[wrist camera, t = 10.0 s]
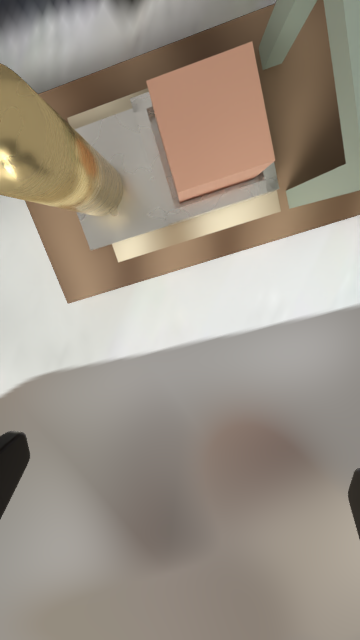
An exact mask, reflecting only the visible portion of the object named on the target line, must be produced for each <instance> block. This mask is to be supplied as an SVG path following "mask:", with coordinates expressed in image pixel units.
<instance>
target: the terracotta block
mask: <svg viewBox="0 0 360 640" xmlns="http://www.w3.org/2000/svg"><path fill="white" fill-rule="evenodd" d="M146 82H147V86H148V90H149V94H150V98H151V102H152V106H153V110H154V114H155V118H156V122H157V125H158V129H159V132H160V136H161V139H162V143H163V146H164V150H165V153H166V157H167V160H168V164H169V167H170V171H171V174H172V178H173V181H174V185H175V189H176V192H177V196H178V199H179V203H182V202H185V201H188V200H191V199H194V198H197V197H200V196H203V195H206V194H210V193H213V192H216V191H219V190H222V189H225V188H228V187H231V186H234V185H237V184H240V183H243V182H246V181H249V180H252V179H254V178H255V177H256V176H257V175H259V174H260V173H261V172H262V171H263V170H265V169H266V168H267V167H268V166H269V165H270V164H272V163H273V162H274V161H275V155H274V150H273V145H272V140H271V135H270V130H269V125H268V120H267V114H266V109H265V104H264V99H263V94H262V89H261V84H260V79H259V73H258V68H257V63H256V58H255V53H254V48H253V43H252V42H249V43H246V44H244V45H241V46H238V47H236V48H233V49H230V50H228V51H225V52H222V53H219V54H217V55H214V56H211V57H209V58H206V59H203V60H201V61H198V62H195V63H193V64H190V65H187V66H185V67H182V68H179V69H177V70H174V71H171V72H169V73H166V74H163V75H161V76H158V77H155V78H153V79H150V80H147V81H146Z"/></svg>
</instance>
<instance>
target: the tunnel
mask: <svg viewBox="0 0 360 640" xmlns="http://www.w3.org/2000/svg"><path fill="white" fill-rule="evenodd" d="M316 1H317V0H277V1H276V4H275V6H274V9H273V11H272V14H271V17H270V19H269V22H268V24H267V27H266V29H265V32H264V35H263V37H262V40H261V42H260V45H259V54H260V59H261V64H262V69H263V70H265V69H268V68H270V67H273V66H276V65H279V64H282V62H283V61H284V59H285V57H286V55H287V53H288V52H289V50H290V48H291V46H292V44H293V43H294V41H295V39H296V37H297V35H298V34H299V32H300V30H301V28H302V27H303V25H304V23H305V21H306V19H307V18H308V16H309V14H310V12H311V10H312V9H313V7H314V5H315V3H316ZM324 7H325V15H326V22H327V29H328V37H329V44H330V51H331V58H332V66H333V73H334V80H335V88H336V95H337V102H338V109H339V117H340V124H341V131H342V139H343V146H344V153H345V160H346V164H344V165H342V166H340V167H337V168H335V169H333V170H331V171H329V172H326V173H324V174H322V175H320V176H318V177H315V178H313V179H311V180H309V181H306V182H304V183H302V184H300V185H298V186H295V187H293V188H291V189H289V190H287V191H286V195H287V200H288V205H289V209H290V208H294V207H298V206H302V205H306V204H309V203H313V202H317V201H321V200H324V199H328V198H332V197H336V196H340V195H343V194H347V193H351V192H355V191H359V190H360V0H324Z"/></svg>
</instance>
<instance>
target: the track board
mask: <svg viewBox="0 0 360 640" xmlns="http://www.w3.org/2000/svg"><path fill="white" fill-rule="evenodd" d="M275 4H276V3H275ZM275 4H273V5H270V6H267V7H265V8H262V9H259V10H257V11H254V12H252V13H249V14H246V15H244V16H241V17H239V18H236V19H233V20H231V21H228V22H226V23H223V24H220V25H218V26H215V27H213V28H210V29H207V30H205V31H202V32H199V33H197V34H194V35H192V36H189V37H186V38H184V39H181V40H179V41H176V42H173V43H171V44H168V45H166V46H163V47H160V48H158V49H155V50H152V51H150V52H147V53H145V54H142V55H139V56H137V57H134V58H132V59H129V60H126V61H124V62H121V63H119V64H116V65H113V66H111V67H108V68H105V69H103V70H100V71H98V72H95V73H92V74H90V75H87V76H85V77H82V78H79V79H77V80H74V81H72V82H69V83H66V84H64V85H61V86H58V87H56V88H53V89H51V90H48V91H45V92H43V93H40V94H38V95H39V96H40V97H41V98H42V99H43V100H44V101H45V102H46V103H48V104H49V105H50V106H51V107H52V108H53V109H54V110H55V111H56V112H57V113H58V114H59V115H60V116H61V117H62V118H63V119H64V120H65V121H66V122H67V123H68V124H69V125H70V126H71V127H72V128H73V129H77V128H80V127H82V126H85V125H88V124H91V123H93V122H96V121H99V120H101V119H104V118H107V117H110V116H112V115H115V114H118V113H121V112H123V111H126V110H129V109H132V108H133V107H132V104H131V101H130V98H133V97H136V96H139V95H141V94H144V93H147V92H149V90H148V86H147V82H146V81H147V80H150V79H153V78H155V77H158V76H161V75H163V74H166V73H169V72H171V71H174V70H177V69H179V68H182V67H185V66H187V65H190V64H193V63H195V62H198V61H201V60H203V59H206V58H209V57H211V56H214V55H217V54H219V53H222V52H225V51H228V50H230V49H233V48H236V47H238V46H241V45H244V44H246V43H249V42H252V43H253V48H254V53H255V58H256V63H257V68H258V73H259V79H260V84H261V89H262V94H263V99H264V104H265V109H266V114H267V120H268V125H269V130H270V135H271V140H272V145H273V150H274V155H275V161H274V164H275V169H276V174H277V179H278V185H279V189H278V190H276V191H274V192H272V193H270V194H267V195H264V196H261V197H258V198H255V199H251V200H248V201H245V202H242V203H239V204H236V205H233V206H230V207H226V208H223V209H220V210H217V211H214V212H211V213H208V214H205V215H202V216H198V217H195V218H192V219H189V220H186V221H183V222H180V223H177V224H173V225H170V226H167V227H164V228H161V229H158V230H155V231H152V232H149V233H145V234H142V235H139V236H136V237H133V238H130V239H127V240H124V241H120V242H117V243H114V244H111V245H108V246H105V247H102V248H99V249H96V250H90V247H89V245H88V242H87V239H86V237H85V234H84V231H83V229H82V226H81V223H80V221H79V218H78V215H77V213H76V212H75V211H71V210H66V209H62V208H57V207H53V206H48V205H44V204H39V203H35V202H30V201H26V200H25V202H26V204H27V207H28V209H29V211H30V214H31V216H32V219H33V221H34V223H35V226H36V228H37V231H38V233H39V235H40V238H41V240H42V243H43V245H44V247H45V250H46V252H47V255H48V257H49V260H50V262H51V264H52V267H53V269H54V272H55V274H56V276H57V279H58V281H59V284H60V286H61V288H62V291H63V293H64V296H65V298H66V300H67V303H68V304H69V303H72V302H75V301H78V300H82V299H85V298H88V297H92V296H95V295H98V294H101V293H105V292H108V291H111V290H114V289H118V288H121V287H124V286H128V285H131V284H134V283H137V282H141V281H144V280H147V279H151V278H154V277H157V276H160V275H164V274H167V273H170V272H174V271H177V270H180V269H183V268H187V267H190V266H193V265H197V264H200V263H203V262H206V261H210V260H213V259H216V258H219V257H223V256H226V255H229V254H233V253H236V252H239V251H242V250H246V249H249V248H252V247H256V246H259V245H262V244H265V243H269V242H272V241H275V240H279V239H282V238H285V237H288V236H292V235H295V234H298V233H302V232H305V231H308V230H311V229H315V228H318V227H321V226H325V225H328V224H331V223H334V222H338V221H341V220H344V219H347V218H351V217H354V216H357V215H360V190H359V191H355V192H351V193H347V194H343V195H340V196H336V197H332V198H328V199H324V200H321V201H317V202H313V203H309V204H306V205H302V206H298V207H294V208H290V209H289V205H288V200H287V195H286V191H287V190H289V189H291V188H293V187H295V186H298V185H300V184H302V183H304V182H306V181H309V180H311V179H313V178H315V177H318V176H320V175H322V174H324V173H326V172H329V171H331V170H333V169H335V168H337V167H340V166H342V165H344V164H346V160H345V153H344V146H343V139H342V131H341V124H340V117H339V109H338V102H337V95H336V88H335V80H334V73H333V66H332V58H331V51H330V44H329V37H328V29H327V22H326V15H325V7H324V0H317V1H316V3H315V5H314V7H313V9H312V10H311V12H310V14H309V16H308V18H307V19H306V21H305V23H304V25H303V27H302V28H301V30H300V32H299V34H298V35H297V37H296V39H295V41H294V43H293V44H292V46H291V48H290V50H289V52H288V53H287V55H286V57H285V59H284V61H283V62H282V64H279V65H276V66H273V67H270V68H268V69H265V70H263V69H262V64H261V59H260V54H259V45H260V42H261V40H262V37H263V35H264V32H265V29H266V27H267V24H268V22H269V19H270V17H271V14H272V11H273V9H274V6H275Z"/></svg>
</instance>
